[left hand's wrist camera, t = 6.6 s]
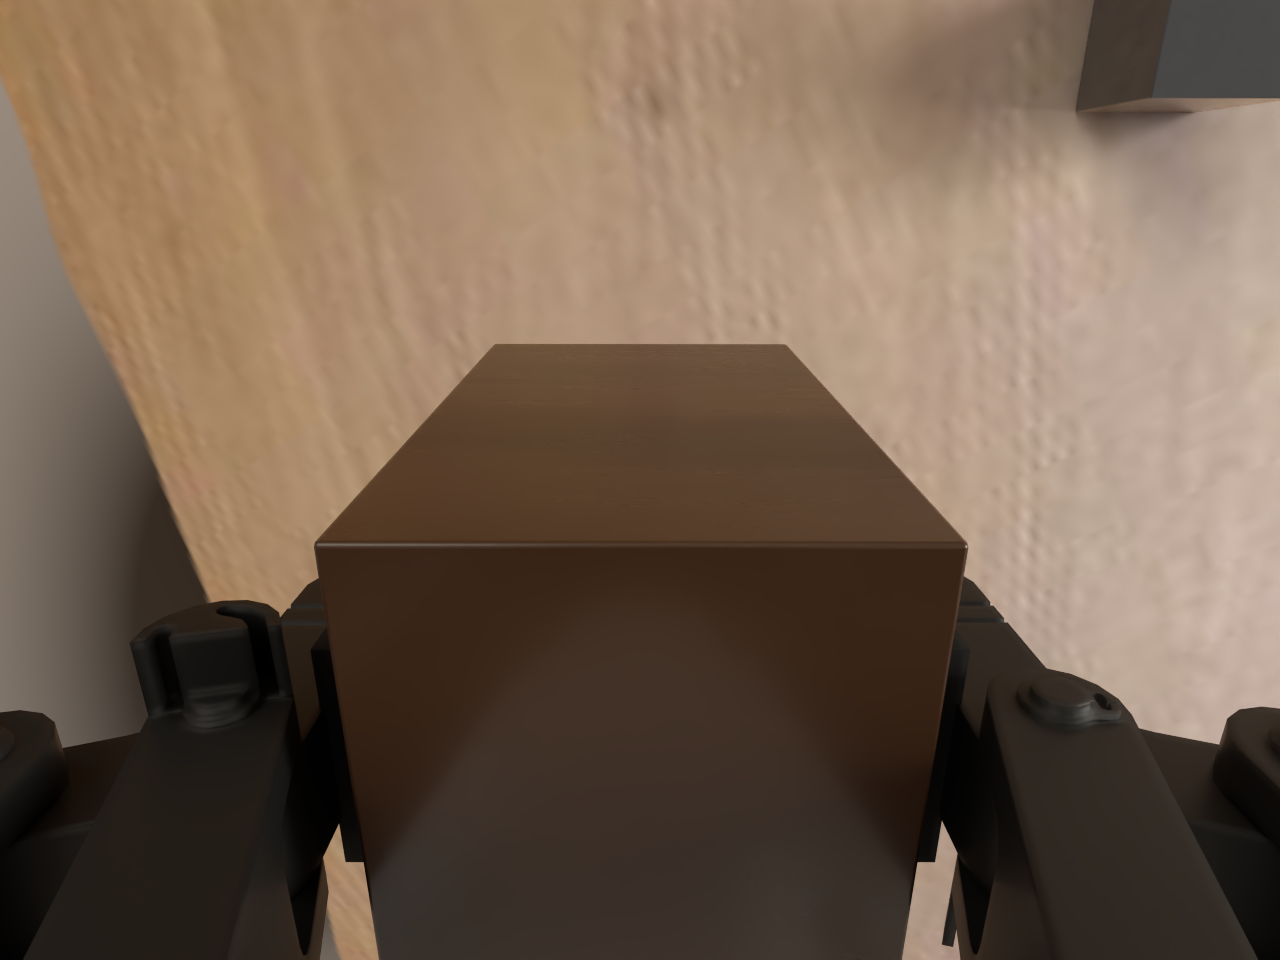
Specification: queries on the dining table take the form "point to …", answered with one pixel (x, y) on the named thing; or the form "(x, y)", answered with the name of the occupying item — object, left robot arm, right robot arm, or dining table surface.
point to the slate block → (1180, 55)
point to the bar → (640, 664)
